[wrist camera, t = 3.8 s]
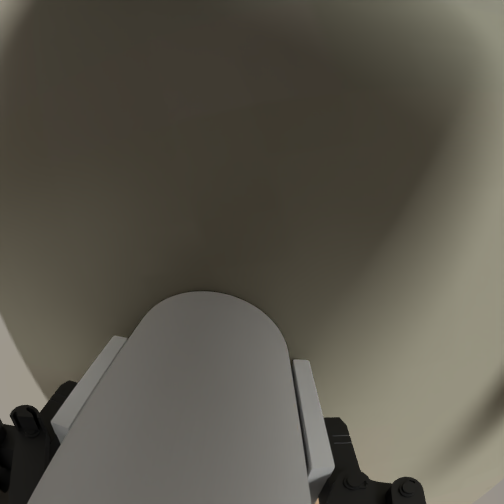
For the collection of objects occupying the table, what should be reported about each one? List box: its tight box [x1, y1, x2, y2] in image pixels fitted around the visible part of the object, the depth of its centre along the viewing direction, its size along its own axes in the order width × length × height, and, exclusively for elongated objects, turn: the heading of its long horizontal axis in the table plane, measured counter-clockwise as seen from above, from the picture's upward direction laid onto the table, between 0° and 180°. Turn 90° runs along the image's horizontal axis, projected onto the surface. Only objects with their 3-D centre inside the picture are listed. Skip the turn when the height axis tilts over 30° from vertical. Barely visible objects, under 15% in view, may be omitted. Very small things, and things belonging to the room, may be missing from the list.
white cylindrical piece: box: [27, 291, 311, 504], centre depth 10 cm, size 8×8×12 cm
